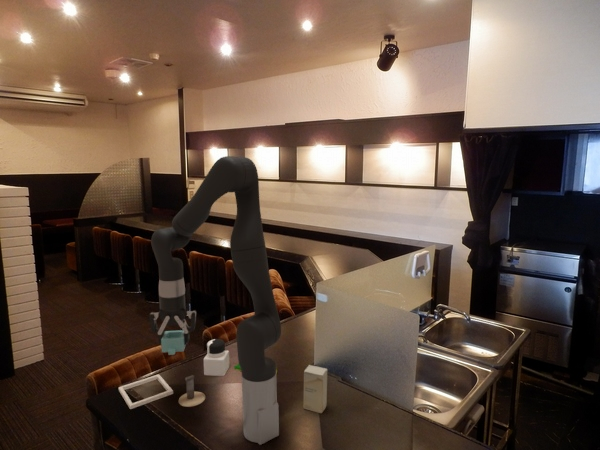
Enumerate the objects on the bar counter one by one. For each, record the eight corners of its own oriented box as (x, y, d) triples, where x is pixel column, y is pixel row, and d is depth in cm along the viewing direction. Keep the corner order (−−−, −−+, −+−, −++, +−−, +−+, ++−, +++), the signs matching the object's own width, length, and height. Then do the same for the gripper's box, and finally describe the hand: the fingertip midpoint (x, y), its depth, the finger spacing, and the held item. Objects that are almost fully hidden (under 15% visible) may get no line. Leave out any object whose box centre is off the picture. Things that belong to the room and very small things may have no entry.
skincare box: (302, 409, 118) (302, 371, 117) (308, 401, 123) (308, 364, 121) (322, 414, 116) (322, 375, 114) (327, 405, 120) (327, 368, 118)
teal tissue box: (182, 354, 118) (182, 341, 117) (160, 355, 117) (159, 342, 117) (186, 341, 126) (186, 330, 125) (165, 342, 125) (165, 331, 125)
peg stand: (209, 403, 122) (208, 379, 120) (184, 413, 117) (183, 388, 116) (198, 392, 128) (197, 368, 127) (174, 401, 123) (173, 377, 122)
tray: (173, 397, 125) (173, 390, 125) (130, 412, 117) (129, 406, 117) (159, 380, 135) (158, 374, 135) (118, 393, 127) (118, 387, 127)
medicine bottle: (229, 368, 143) (228, 337, 141) (224, 379, 136) (222, 346, 134) (210, 367, 143) (209, 336, 142) (203, 378, 136) (202, 345, 135)
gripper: (144, 297, 115) (147, 351, 118) (194, 295, 117) (196, 348, 120) (150, 289, 122) (153, 340, 125) (197, 287, 124) (199, 337, 127)
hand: (174, 344), depth 122 cm, fingers closed on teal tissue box, 6 cm apart
